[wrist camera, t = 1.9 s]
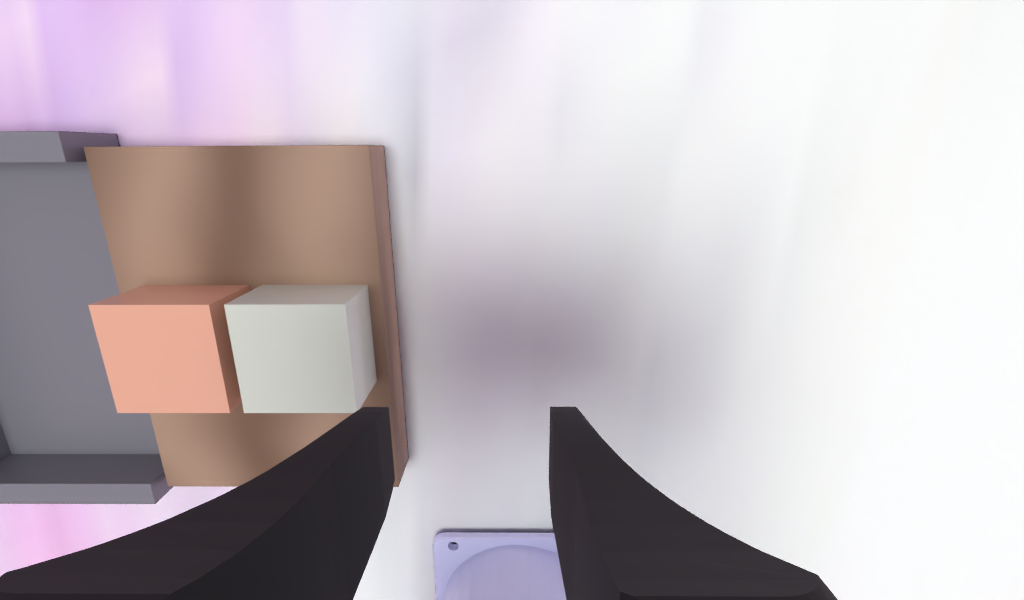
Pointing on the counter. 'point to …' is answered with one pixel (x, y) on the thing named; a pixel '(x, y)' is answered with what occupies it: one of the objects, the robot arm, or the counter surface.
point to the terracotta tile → (169, 348)
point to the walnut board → (254, 270)
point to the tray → (61, 336)
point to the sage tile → (303, 348)
